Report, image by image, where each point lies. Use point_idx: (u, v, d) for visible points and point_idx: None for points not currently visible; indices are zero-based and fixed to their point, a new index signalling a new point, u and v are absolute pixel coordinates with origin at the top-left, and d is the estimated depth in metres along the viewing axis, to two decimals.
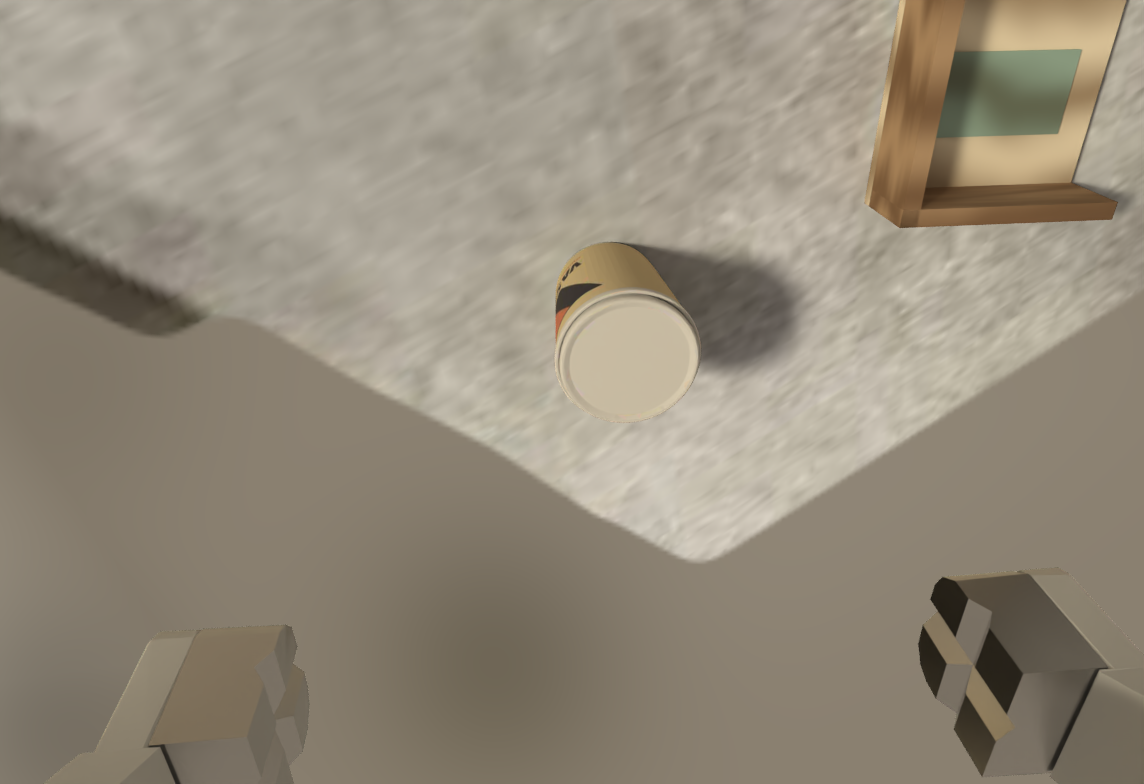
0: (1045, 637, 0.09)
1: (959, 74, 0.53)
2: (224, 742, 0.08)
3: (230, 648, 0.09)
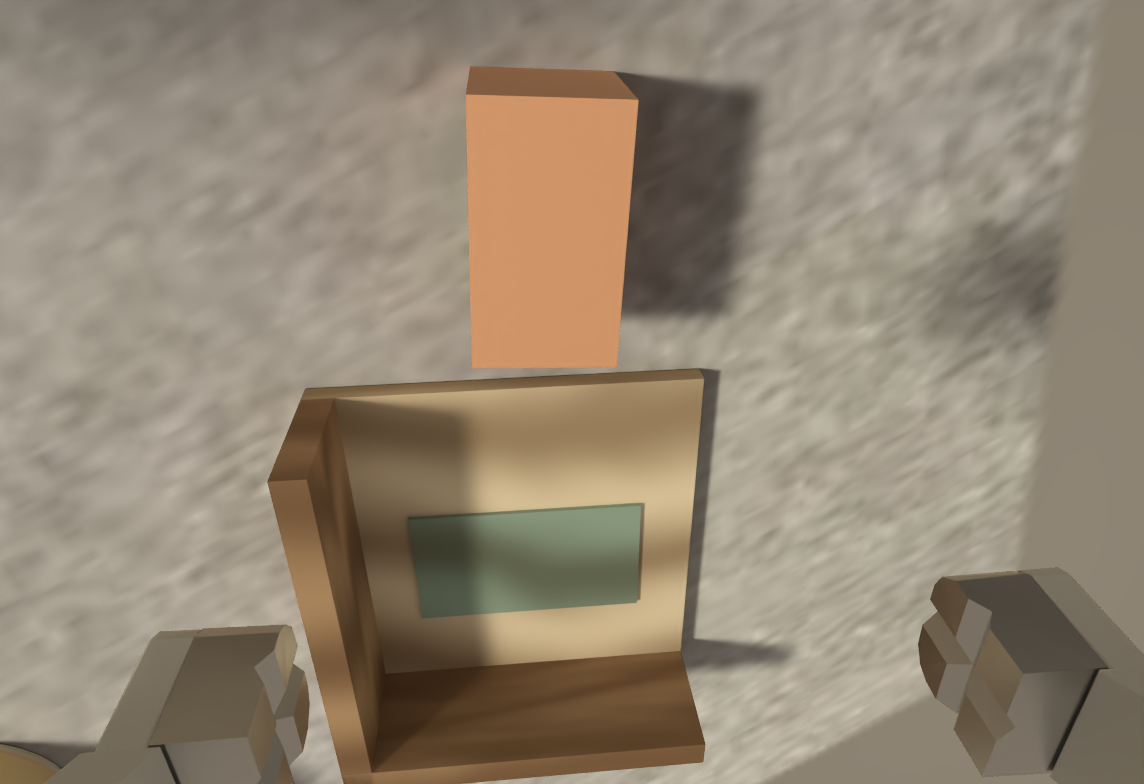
0: (1046, 638, 0.09)
1: (443, 544, 0.33)
2: (224, 742, 0.08)
3: (230, 648, 0.09)
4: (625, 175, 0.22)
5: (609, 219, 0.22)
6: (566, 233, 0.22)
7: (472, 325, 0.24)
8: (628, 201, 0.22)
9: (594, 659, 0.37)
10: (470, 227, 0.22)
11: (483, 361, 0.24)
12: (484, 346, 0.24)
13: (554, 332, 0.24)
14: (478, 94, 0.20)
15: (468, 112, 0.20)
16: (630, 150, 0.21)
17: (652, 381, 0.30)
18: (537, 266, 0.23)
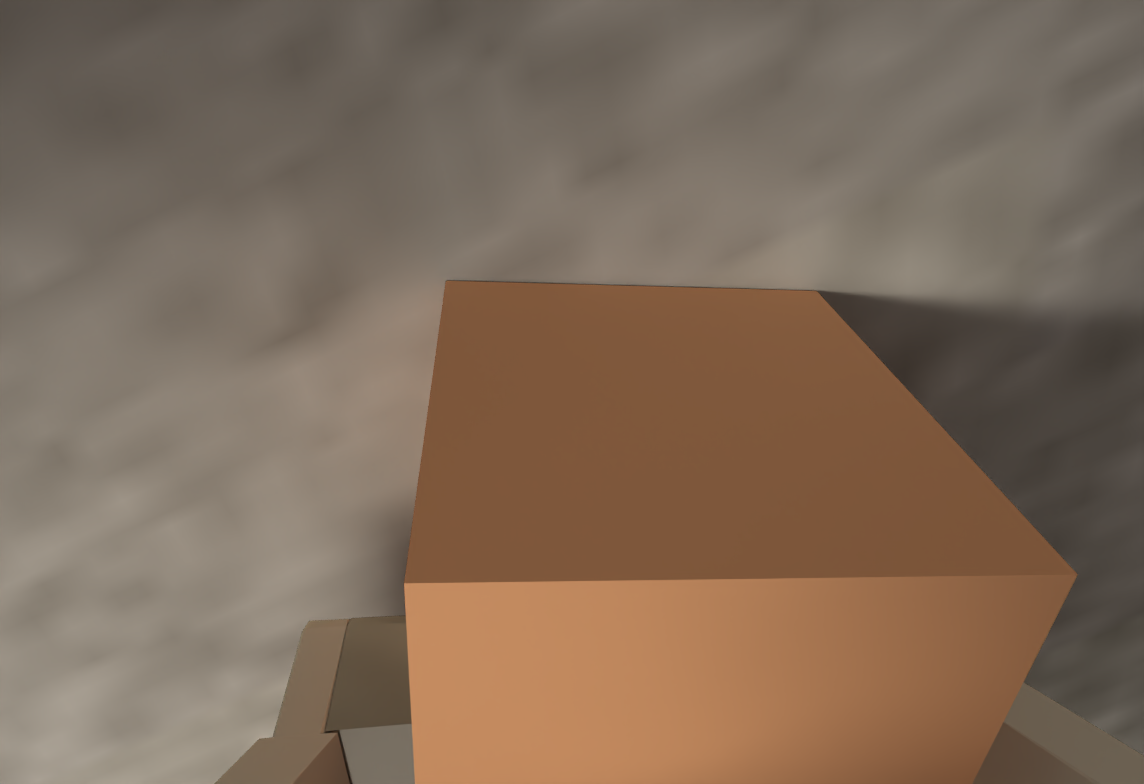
0: None
1: None
2: (397, 728, 0.08)
3: (385, 636, 0.09)
4: (960, 760, 0.06)
5: None
6: None
7: None
8: None
9: None
10: None
11: None
12: None
13: None
14: (456, 574, 0.05)
15: (416, 631, 0.05)
16: (1001, 707, 0.06)
17: None
18: None
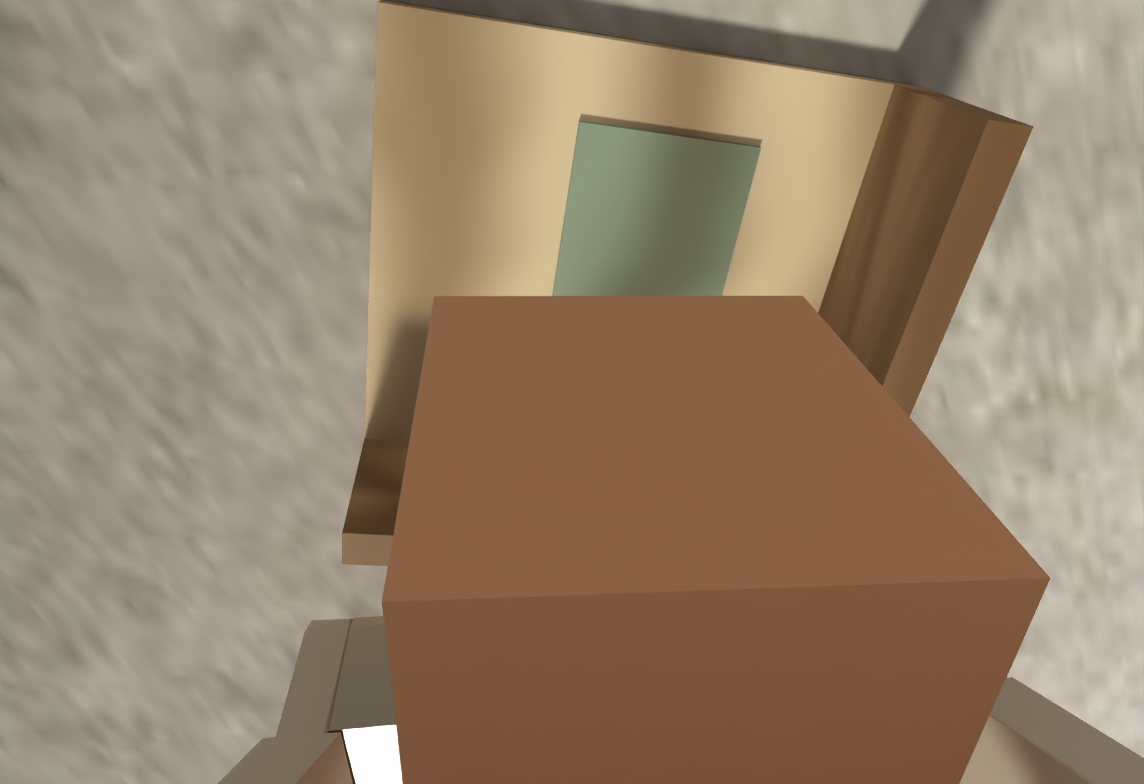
0: None
1: None
2: None
3: None
4: (945, 763, 0.06)
5: None
6: None
7: None
8: None
9: (850, 221, 0.25)
10: None
11: None
12: None
13: None
14: (433, 592, 0.05)
15: (395, 648, 0.05)
16: (981, 710, 0.06)
17: (375, 81, 0.22)
18: None
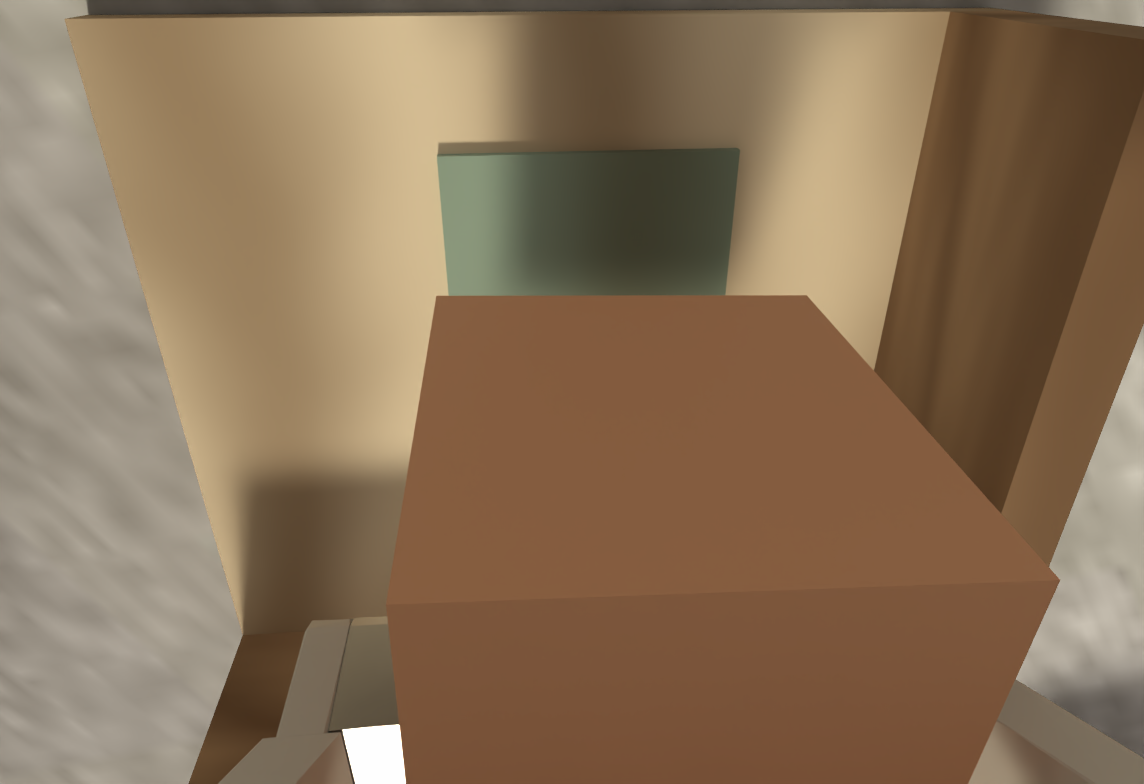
0: None
1: None
2: None
3: (387, 636, 0.09)
4: (953, 766, 0.06)
5: None
6: None
7: None
8: None
9: (904, 241, 0.16)
10: None
11: None
12: None
13: None
14: (438, 594, 0.05)
15: (400, 651, 0.05)
16: (990, 713, 0.06)
17: (102, 144, 0.14)
18: None
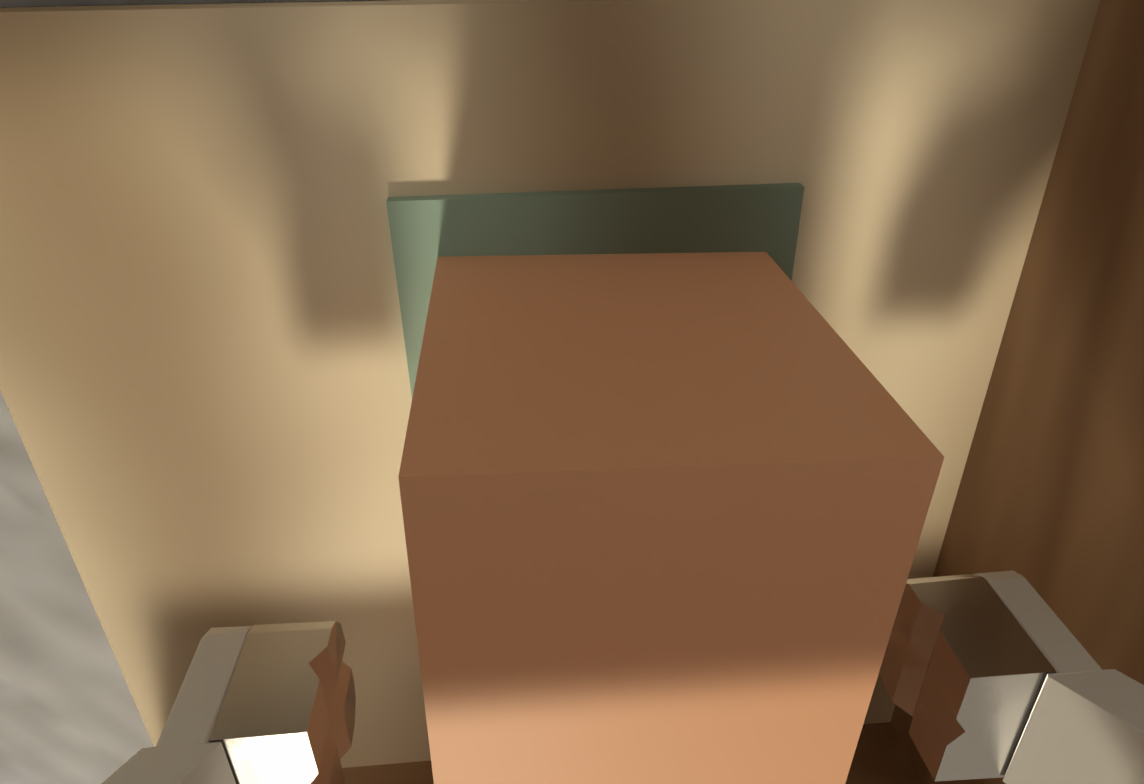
0: (995, 642, 0.09)
1: None
2: (284, 737, 0.08)
3: (283, 644, 0.09)
4: (873, 628, 0.08)
5: (812, 717, 0.08)
6: (696, 750, 0.08)
7: None
8: (872, 680, 0.08)
9: (1018, 301, 0.12)
10: (435, 761, 0.08)
11: None
12: None
13: None
14: (439, 470, 0.06)
15: (410, 519, 0.06)
16: (898, 577, 0.07)
17: None
18: None
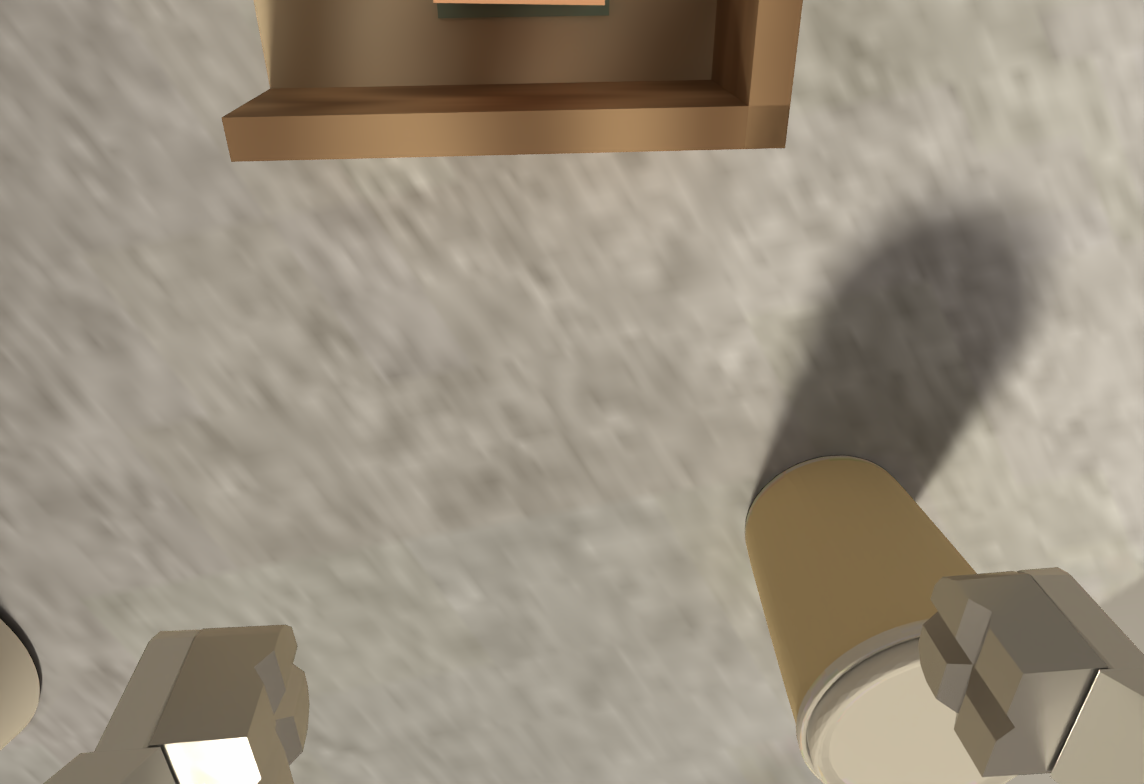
0: (1046, 638, 0.09)
1: None
2: (224, 742, 0.08)
3: (230, 648, 0.09)
4: None
5: None
6: None
7: None
8: None
9: None
10: None
11: None
12: None
13: None
14: None
15: None
16: None
17: None
18: None
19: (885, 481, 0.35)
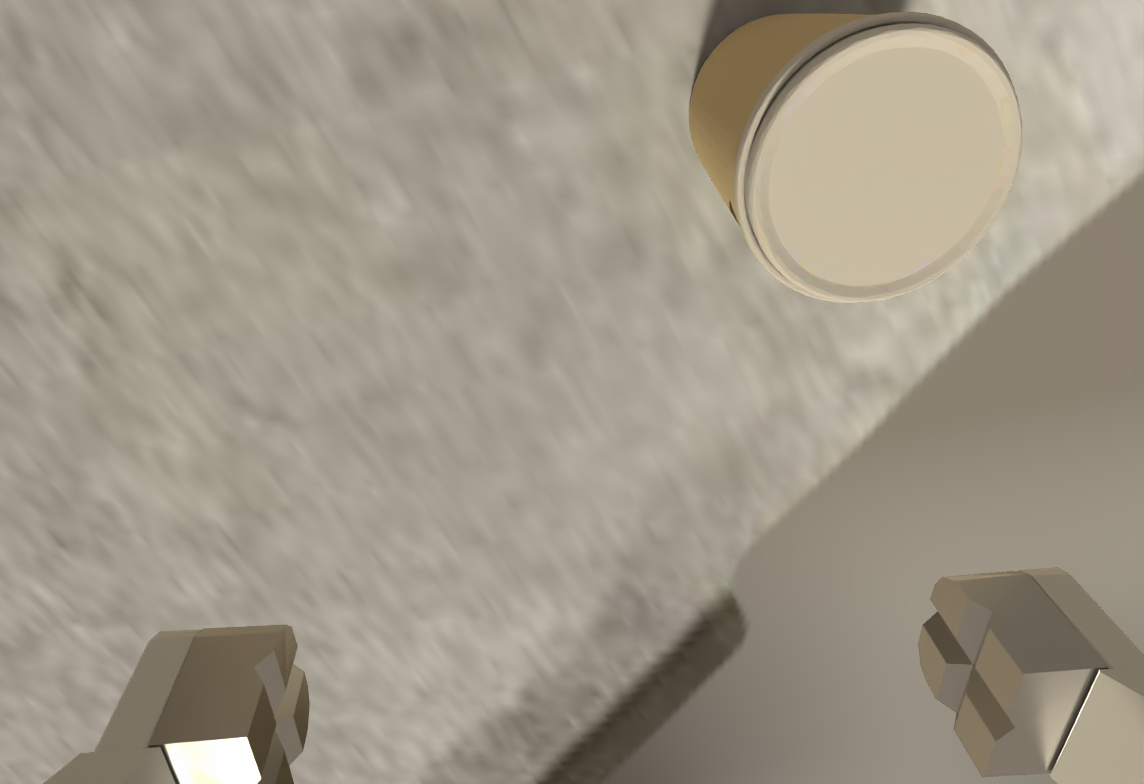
0: (1046, 637, 0.09)
1: None
2: (224, 742, 0.08)
3: (230, 648, 0.09)
4: None
5: None
6: None
7: None
8: None
9: None
10: None
11: None
12: None
13: None
14: None
15: None
16: None
17: None
18: None
19: None
